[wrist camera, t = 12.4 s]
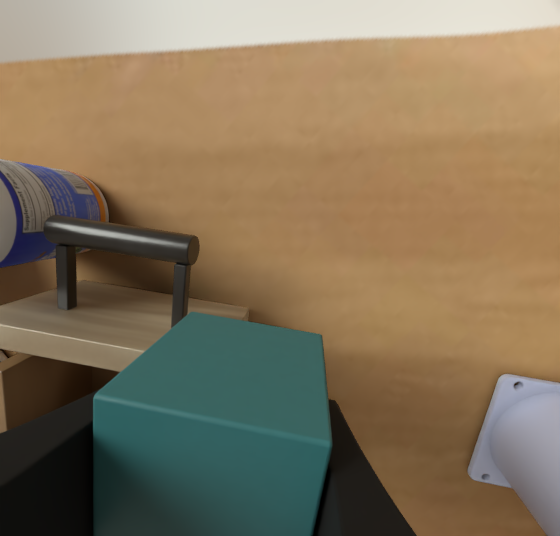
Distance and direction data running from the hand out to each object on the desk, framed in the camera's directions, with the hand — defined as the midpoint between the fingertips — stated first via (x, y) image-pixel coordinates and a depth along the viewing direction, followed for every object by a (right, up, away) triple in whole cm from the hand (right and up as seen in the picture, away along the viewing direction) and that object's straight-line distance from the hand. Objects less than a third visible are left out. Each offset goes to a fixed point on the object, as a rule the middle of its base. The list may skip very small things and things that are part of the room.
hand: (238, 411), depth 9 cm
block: (0, 0, +1) cm, 1 cm away
